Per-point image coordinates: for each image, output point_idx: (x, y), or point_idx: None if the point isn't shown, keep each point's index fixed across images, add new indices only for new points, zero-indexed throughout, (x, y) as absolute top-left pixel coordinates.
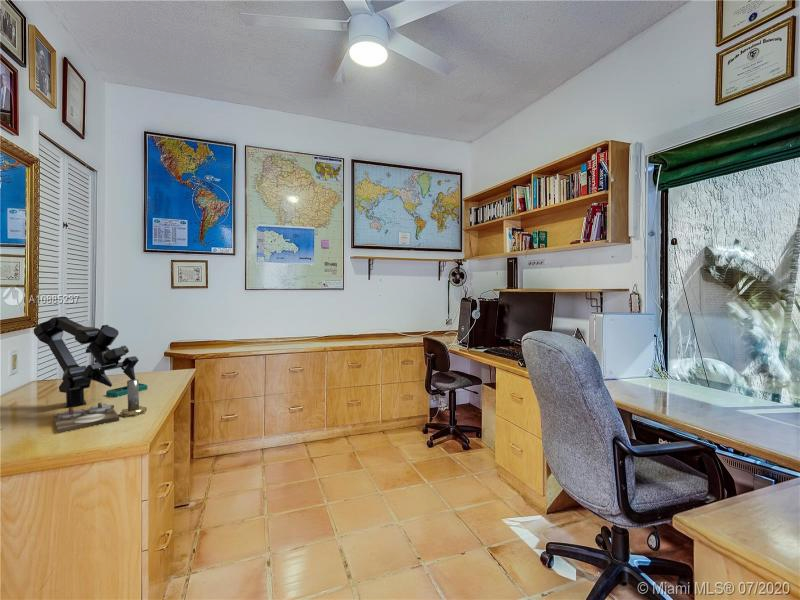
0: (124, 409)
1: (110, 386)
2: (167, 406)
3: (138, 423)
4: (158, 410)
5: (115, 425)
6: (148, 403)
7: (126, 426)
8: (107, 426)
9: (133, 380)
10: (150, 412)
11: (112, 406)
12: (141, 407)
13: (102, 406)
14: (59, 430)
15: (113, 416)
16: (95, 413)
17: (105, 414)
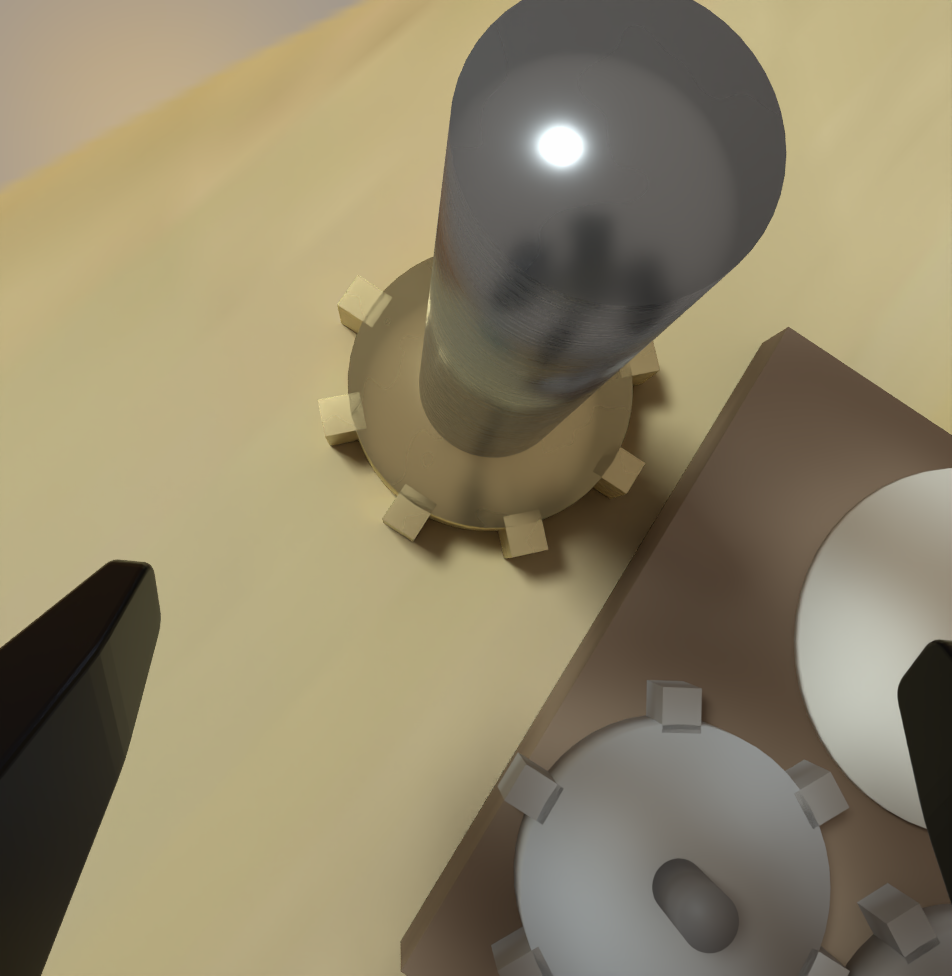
0: (520, 531)
1: (934, 676)
2: (102, 156)
3: (770, 27)
4: (295, 151)
5: (895, 244)
6: (22, 578)
7: (883, 87)
8: (946, 311)
9: (600, 125)
10: (395, 197)
11: (541, 770)
12: (379, 348)
13: (622, 904)
14: None
15: (803, 411)
16: (812, 766)
17: (772, 605)
